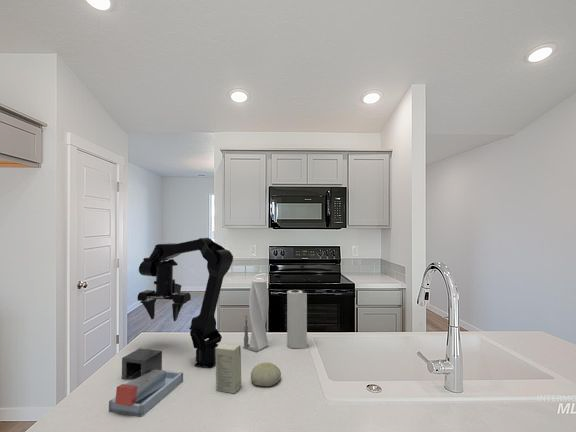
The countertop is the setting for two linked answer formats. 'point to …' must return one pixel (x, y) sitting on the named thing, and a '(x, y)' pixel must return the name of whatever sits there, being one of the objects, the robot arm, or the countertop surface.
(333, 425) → the countertop surface
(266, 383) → the sea urchin shell
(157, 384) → the pin
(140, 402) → the tray
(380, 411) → the countertop surface
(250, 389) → the countertop surface
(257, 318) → the skyscraper
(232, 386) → the skincare box
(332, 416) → the countertop surface
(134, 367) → the block
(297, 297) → the paper towel roll
